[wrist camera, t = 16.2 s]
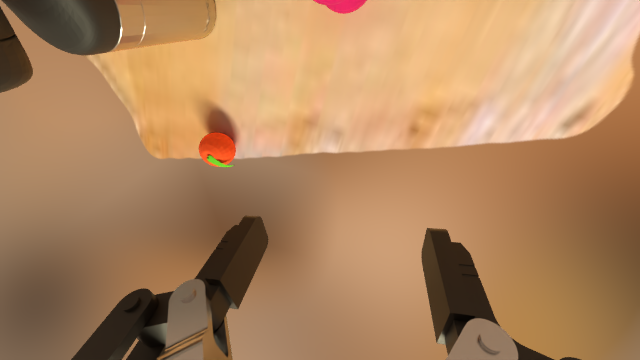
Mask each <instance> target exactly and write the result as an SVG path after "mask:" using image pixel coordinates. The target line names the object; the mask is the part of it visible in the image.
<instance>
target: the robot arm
mask: <svg viewBox="0 0 640 360" xmlns="http://www.w3.org/2000/svg"><path fill="white" fill-rule="evenodd" d="M2 1H3V2H4V3H5V4H6V5H7V6H8V7H9V8H10V9H11V10H12V11H13V12H14V13H15V15H16V16H17V17H18V18H19V19H20V20H21V21H22V22H23V23H24V24H25V25H26V26H27V27H29V28H30V29H31V30H32V31H33V32H34V33H36V34H37V35H38V36H39V37H41V38H42V39H43V40H45V41H46V42H48V43H49V44H51V45H53V46H54V47H56V48H58V49H60V50H63V51H65V52H68V53H71V54H77V55H94V54H101V53H107V52H113V51H119V50H126V49H132V48H139V47H146V46H153V45H160V44H167V43H174V42H181V41H189V40H195V39H201V38H204V37H206V36H208V35H209V34H210V33H211V31H212V30H213V27H214V25H215V20H216V9H215V3H214V0H2ZM32 74H33V69H32V66H31V63H30V60H29V58H28V56H27V54H26V52H25V50H24V48H23V47H22V45H21V43H20V41H19V39H18V38H17V36H16V34H15V32H14V30H13V28H12V27H11V25H10V23H9V21H8V20H7V18H6V16H5V14H4V13H3V11H2V9H1V7H0V93H1V92H5V91H8V90H11V89H13V88H16V87H19V86H20V85H22V84H24V83H26V82H27V81H28V80H29V79H30V78H31V76H32ZM267 244H268V236H267V233H266V230H265V227H264V224H263V221H262V218H261V217H259V216H245V217H243V219H242V220H241V222H240V223H239V225H235V226H233V227H232V228H231V229H230V230H229V231H227V232H226V234H225V235H224V237H223V238H222V240H221V242H220V243H219V244H218V246H217V247H216V250H214V252H213V253H212V254H211V256H210V257H209V259H208V260H207V262H206V263H205V265H204V266H203V268H202V269H201V270H200V272H199V273H198V275H197V276H196V278H195V279H192V280H189V281H186V282H184V283H183V284H181V285H180V286H179V287H178V288H177V289H176V290H175V291H172V292H168V293H162V294H157V295H154V294H153V293H152V292H151V291H150V290H148V289H138V290H136V291H133V292H131V293H130V294H128V295H127V296H125V297H124V298H123V299H122V300H121V301H120V302H119V303H118V304H117V305H116V307H115V308H114V309H113V310H112V311H111V313H110V314H109V315H108V316H107V317H106V319H105V320H104V321H103V322H102V324H101V325H100V326H99V327H98V328H97V329H96V331H95V332H94V333H93V334H92V336H91V337H90V338H89V339H88V340H87V341H86V343H85V344H84V345H83V346H82V348H81V349H80V350H79V351H78V352H77V354H76V355H75V356H74V357H73V358H72V360H122V358H123V357H124V355H125V354H126V352H127V351H128V350H129V348H130V347H131V345H132V344H133V342H134V341H135V339H136V338H137V339H138V340H139V341H138V343H137V344H136V346H135V347H134V349H133V350H132V352H131V353H130V355H129V356H128V358H127V359H126V360H233V358H232V351H231V344H230V336H229V329H228V322H227V317H226V313H227V311H228V309H229V308H233V309H238V308H239V306H240V304H241V302H242V300H243V297H244V295H245V293H246V291H247V289H248V287H249V284H250V282H251V280H252V278H253V276H254V274H255V272H256V269H257V267H258V265H259V263H260V261H261V259H262V257H263V254H264V252H265V250H266V248H267ZM422 265H423V271H424V276H425V282H426V287H427V293H428V298H429V303H430V309H431V314H432V320H433V325H434V331H435V336H436V342H437V343H439V344H445V345H446V348H447V353H448V357H447V358H446V360H554V359H551V358H549V357H547V356H545V355H542V354H540V353H538V352H536V351H533V350H531V349H529V348H527V347H525V346H523V345H521V344H519V343H518V342H516V341H515V340H514V339H512V338H511V337H510V336H509V335H508V334H507V332H506V331H504V330H503V329H502V328H501V327H500V325H499V324H498V322H497V321H496V319H495V317H494V314H493V311H492V309H491V306H490V304H489V301H488V299H487V296H486V293H485V291H484V288H483V286H482V283H481V281H480V278H478V273H477V270H476V268H475V266H474V263H473V260H472V258H471V255H470V253H469V252H468V251H467V250H466V249H465V247H464V246H463V245H462V244H461V243H456V242H451V240H450V237H449V234H448V231H447V230H446V229H432V228H427V230H426V234H425V239H424V243H423V248H422ZM560 360H580V359H577V358H571V357H565V358H562V359H560Z"/></svg>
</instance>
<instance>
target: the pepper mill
mask: <svg viewBox="0 0 640 360" xmlns="http://www.w3.org/2000/svg"><path fill="white" fill-rule="evenodd" d="M314 1H315V2H317V3H319V4H323V5H326V6H327V7H328V8H329V9H331V10H332V11H334V12H337V13H343V14H344V13H350V12H353V11H355V10H357V9H358V8H360V7H361V6H362V5H363V4H364V3H365V2H366V1H367V0H314Z"/></svg>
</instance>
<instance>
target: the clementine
mask: <svg viewBox="0 0 640 360" xmlns="http://www.w3.org/2000/svg"><path fill="white" fill-rule="evenodd" d="M235 152H236V148H235V144H234V142H233V141H232V139H231V138H230V137H228V136H227V135H225V134H223V133H217V132H216V133H210V134H208V135H206V136H205V137H204V138H203V139H202V140H201V142H200V145H199V153H200V156H201V157H202V159H203V160H204V161H205V162H206V163H208V164H210V165H212V166H221V167H231V166H229V165H226V164H228V163H230V162H231V161H232V160H233V158H234V156H235Z"/></svg>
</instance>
